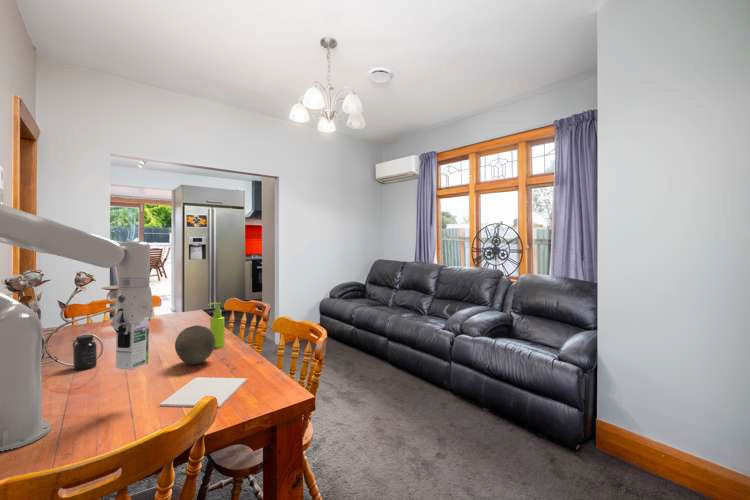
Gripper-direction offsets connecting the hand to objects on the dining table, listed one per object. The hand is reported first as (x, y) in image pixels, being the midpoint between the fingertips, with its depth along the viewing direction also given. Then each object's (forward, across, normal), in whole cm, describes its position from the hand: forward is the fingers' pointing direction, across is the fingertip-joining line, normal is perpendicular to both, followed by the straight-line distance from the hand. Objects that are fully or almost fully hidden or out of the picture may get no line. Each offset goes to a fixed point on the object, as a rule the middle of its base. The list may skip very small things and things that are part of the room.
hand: (132, 343), depth 103 cm
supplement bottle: (+19, +28, +38) cm, 51 cm away
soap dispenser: (+17, +57, +2) cm, 59 cm away
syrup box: (+7, 0, 0) cm, 7 cm away
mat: (+18, +10, -18) cm, 27 cm away
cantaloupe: (+18, +34, -1) cm, 38 cm away
